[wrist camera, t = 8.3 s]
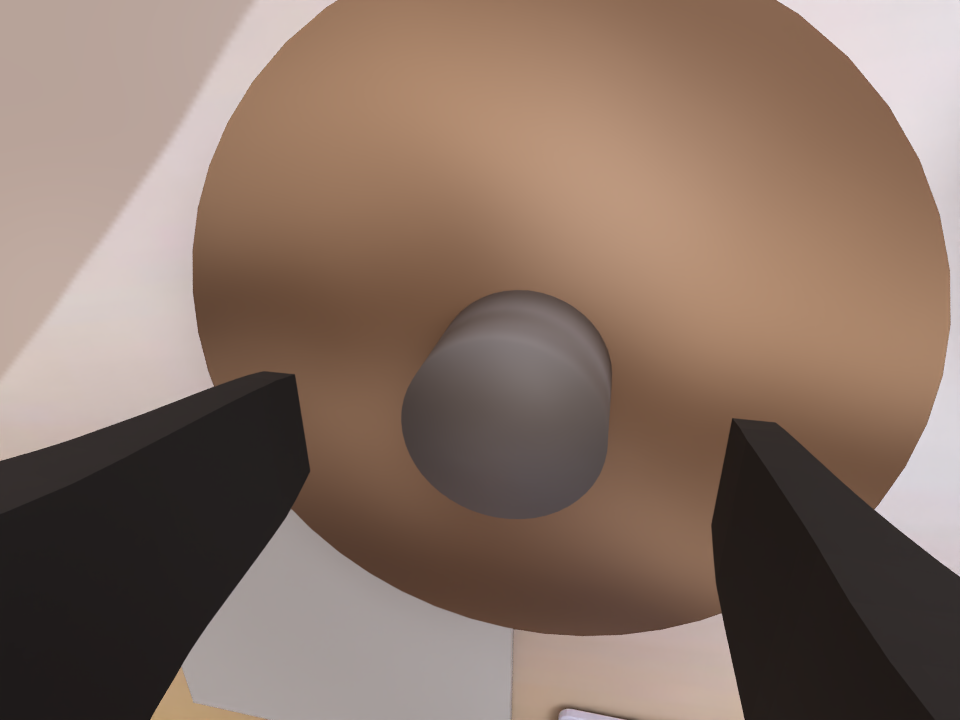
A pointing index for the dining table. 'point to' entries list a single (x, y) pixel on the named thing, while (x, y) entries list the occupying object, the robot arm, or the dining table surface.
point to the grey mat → (343, 645)
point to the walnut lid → (568, 287)
